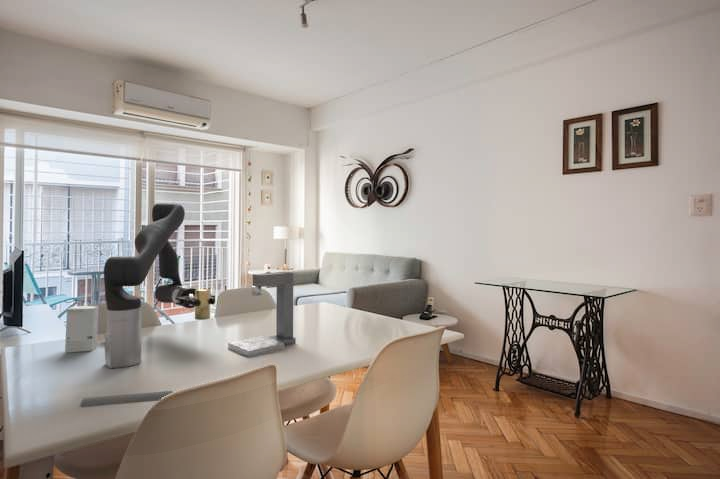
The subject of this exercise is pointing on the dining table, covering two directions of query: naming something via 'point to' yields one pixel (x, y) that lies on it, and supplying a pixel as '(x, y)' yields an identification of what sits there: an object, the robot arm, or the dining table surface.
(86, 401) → the half round rod
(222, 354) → the dining table surface
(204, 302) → the cylinder
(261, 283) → the press
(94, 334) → the skincare box
